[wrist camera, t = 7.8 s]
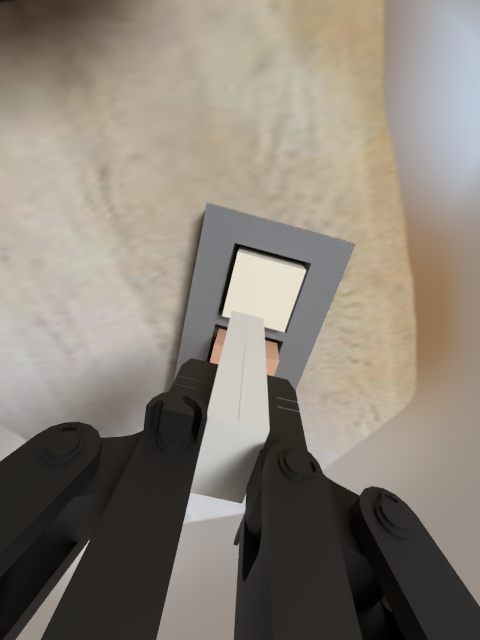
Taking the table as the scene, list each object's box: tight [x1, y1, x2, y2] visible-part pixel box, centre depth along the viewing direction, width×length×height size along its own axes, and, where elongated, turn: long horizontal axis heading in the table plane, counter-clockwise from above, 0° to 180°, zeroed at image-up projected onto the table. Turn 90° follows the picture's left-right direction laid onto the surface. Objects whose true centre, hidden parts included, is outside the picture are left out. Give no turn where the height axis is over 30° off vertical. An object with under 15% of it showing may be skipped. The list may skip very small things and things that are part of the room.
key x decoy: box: [210, 328, 279, 376], centre depth 27 cm, size 6×6×4 cm
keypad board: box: [173, 203, 355, 390], centre depth 29 cm, size 28×13×2 cm, turn 166°
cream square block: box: [222, 247, 306, 332], centre depth 25 cm, size 6×6×4 cm
